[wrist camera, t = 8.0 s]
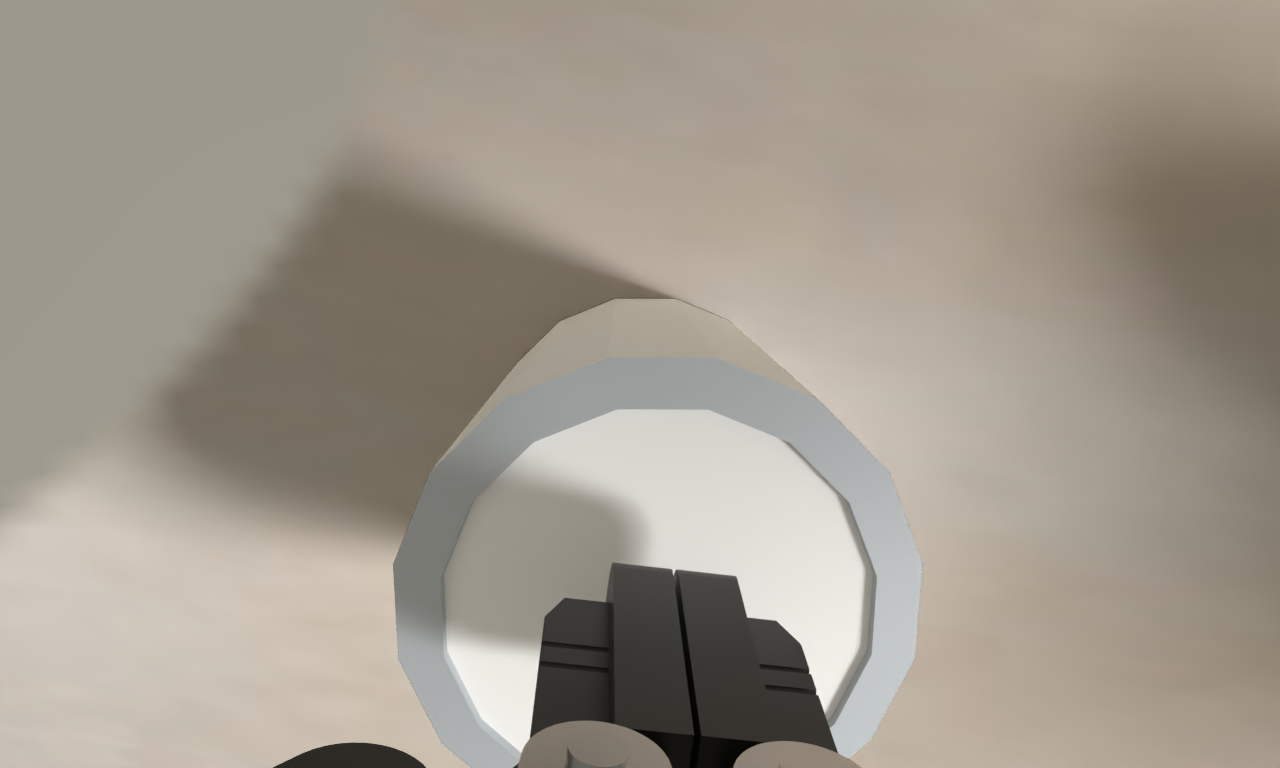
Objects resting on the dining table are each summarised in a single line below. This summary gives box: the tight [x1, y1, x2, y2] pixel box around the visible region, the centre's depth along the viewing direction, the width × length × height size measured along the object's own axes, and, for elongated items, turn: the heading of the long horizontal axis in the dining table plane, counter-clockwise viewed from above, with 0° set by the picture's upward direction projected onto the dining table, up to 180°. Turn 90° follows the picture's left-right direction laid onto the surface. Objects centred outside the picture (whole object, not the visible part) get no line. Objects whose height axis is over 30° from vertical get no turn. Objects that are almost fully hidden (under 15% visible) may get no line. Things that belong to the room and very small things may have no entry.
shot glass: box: [393, 299, 923, 768], centre depth 17 cm, size 7×7×7 cm
